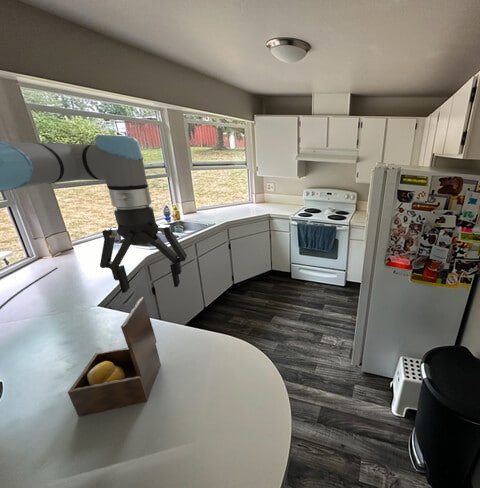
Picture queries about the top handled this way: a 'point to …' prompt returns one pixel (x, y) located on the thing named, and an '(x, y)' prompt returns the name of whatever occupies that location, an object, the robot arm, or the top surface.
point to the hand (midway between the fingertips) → (152, 287)
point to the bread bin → (114, 384)
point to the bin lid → (139, 336)
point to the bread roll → (105, 373)
